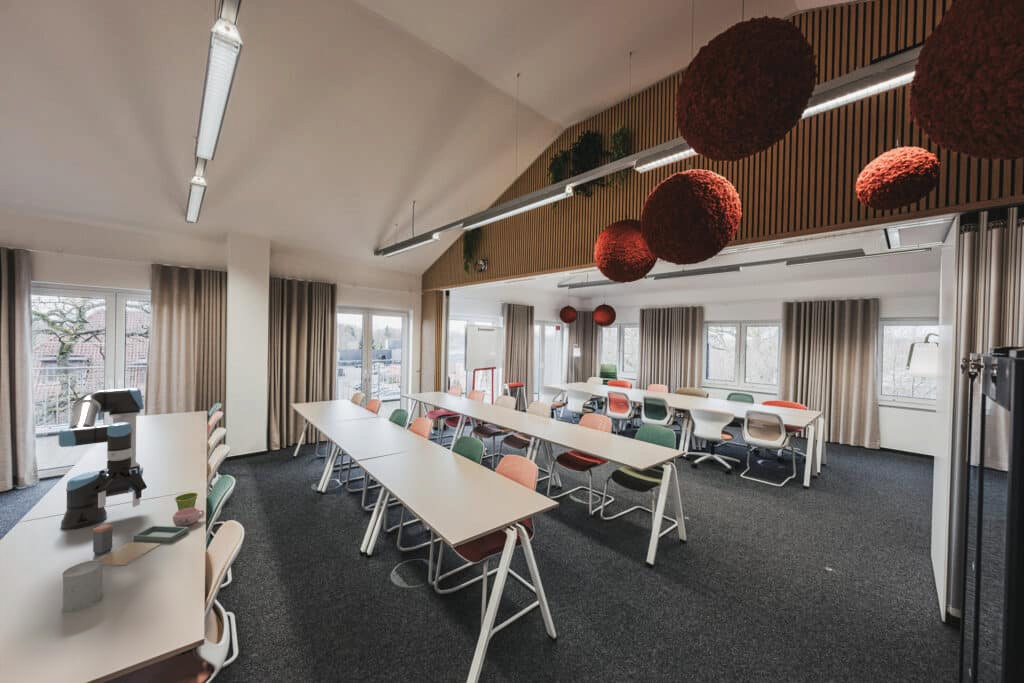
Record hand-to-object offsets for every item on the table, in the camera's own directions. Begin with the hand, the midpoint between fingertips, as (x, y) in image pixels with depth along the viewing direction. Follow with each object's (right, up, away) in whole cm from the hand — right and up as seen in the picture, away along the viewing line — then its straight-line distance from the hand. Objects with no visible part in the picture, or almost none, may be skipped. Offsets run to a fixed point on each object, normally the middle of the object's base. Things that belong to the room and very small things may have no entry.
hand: (119, 506), depth 170 cm
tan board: (+8, -19, -5) cm, 21 cm away
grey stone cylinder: (+21, -20, -33) cm, 44 cm away
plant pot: (+2, -18, +33) cm, 37 cm away
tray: (+10, -18, +9) cm, 23 cm away
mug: (+12, -18, +22) cm, 31 cm away
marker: (-3, -18, -4) cm, 19 cm away
